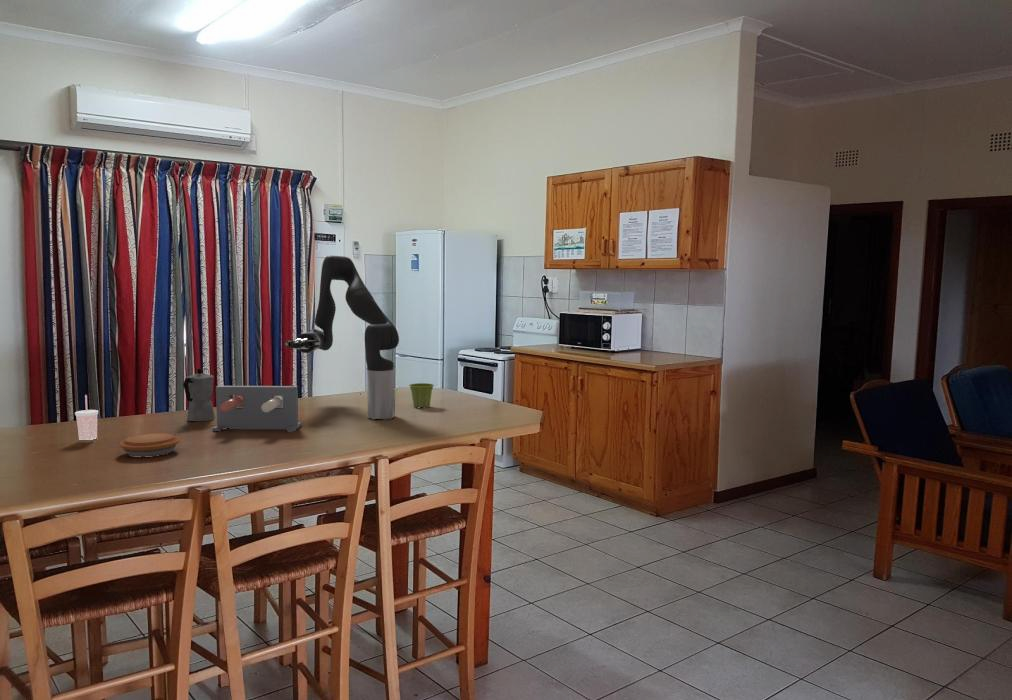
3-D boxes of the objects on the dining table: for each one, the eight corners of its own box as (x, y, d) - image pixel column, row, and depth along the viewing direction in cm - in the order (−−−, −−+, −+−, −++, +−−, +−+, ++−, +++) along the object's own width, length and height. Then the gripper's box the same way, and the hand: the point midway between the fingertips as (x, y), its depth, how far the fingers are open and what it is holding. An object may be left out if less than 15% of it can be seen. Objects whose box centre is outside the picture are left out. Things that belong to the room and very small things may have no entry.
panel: (301, 425, 247) (300, 384, 246) (293, 432, 237) (292, 388, 236) (224, 425, 247) (222, 384, 246) (212, 431, 237) (210, 388, 236)
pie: (109, 460, 200) (108, 442, 200) (134, 447, 216) (133, 430, 215) (168, 460, 201) (167, 442, 201) (188, 447, 217) (187, 430, 216)
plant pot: (409, 405, 288) (409, 383, 287) (433, 404, 289) (433, 382, 289) (409, 409, 279) (409, 386, 278) (434, 408, 280) (434, 386, 279)
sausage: (249, 406, 246) (248, 392, 245) (232, 415, 231) (231, 399, 230) (234, 406, 246) (234, 392, 245) (217, 415, 231) (216, 399, 230)
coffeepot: (200, 415, 265) (198, 365, 263) (224, 416, 263) (222, 366, 261) (173, 423, 250) (171, 371, 248) (198, 425, 248) (196, 371, 246)
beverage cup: (73, 443, 220) (70, 396, 218) (81, 439, 226) (78, 393, 224) (95, 442, 221) (92, 396, 219) (102, 438, 227) (100, 393, 226)
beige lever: (288, 406, 246) (287, 392, 245) (274, 415, 231) (273, 400, 230) (273, 406, 246) (273, 392, 245) (258, 415, 231) (258, 400, 230)
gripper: (290, 332, 279) (276, 335, 262) (325, 332, 279) (313, 334, 262) (291, 352, 280) (277, 356, 263) (326, 351, 280) (314, 355, 263)
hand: (295, 345), depth 262 cm, fingers closed
